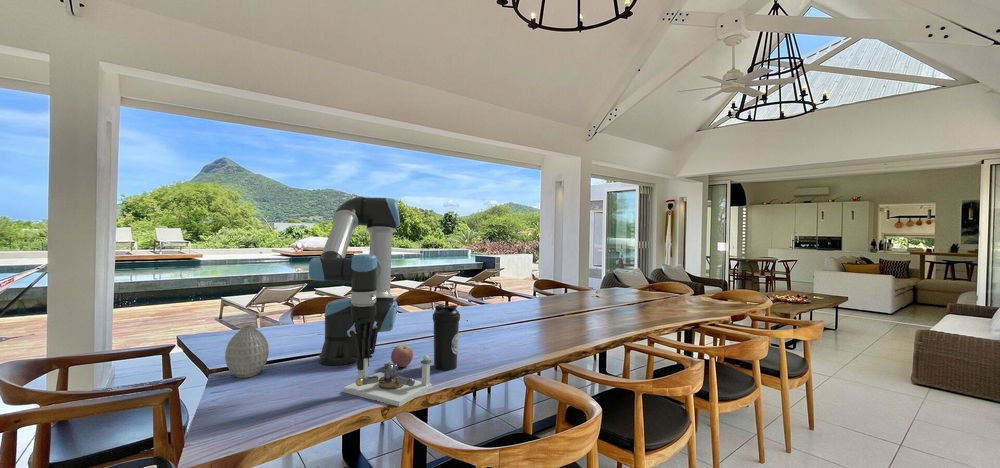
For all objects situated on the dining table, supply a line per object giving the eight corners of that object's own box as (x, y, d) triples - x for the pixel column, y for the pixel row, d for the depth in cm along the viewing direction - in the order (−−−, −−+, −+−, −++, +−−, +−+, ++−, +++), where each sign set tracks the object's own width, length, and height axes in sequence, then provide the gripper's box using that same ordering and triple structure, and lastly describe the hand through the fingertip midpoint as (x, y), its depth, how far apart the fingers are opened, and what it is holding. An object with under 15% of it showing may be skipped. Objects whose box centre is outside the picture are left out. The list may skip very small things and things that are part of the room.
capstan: (363, 401, 120) (363, 379, 120) (348, 381, 135) (348, 361, 135) (415, 391, 129) (416, 370, 129) (396, 373, 144) (396, 354, 144)
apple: (393, 371, 151) (394, 349, 151) (388, 365, 158) (389, 343, 158) (415, 368, 155) (415, 346, 154) (409, 362, 161) (410, 341, 161)
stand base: (343, 392, 131) (344, 357, 131) (379, 376, 145) (379, 345, 145) (399, 406, 121) (399, 369, 121) (431, 388, 136) (432, 354, 135)
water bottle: (454, 372, 151) (455, 308, 151) (427, 369, 153) (428, 307, 153) (462, 363, 161) (463, 304, 161) (437, 361, 163) (438, 302, 163)
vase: (276, 371, 148) (277, 324, 148) (244, 383, 136) (244, 332, 136) (249, 366, 152) (250, 321, 152) (215, 378, 140) (216, 328, 140)
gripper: (357, 309, 123) (356, 388, 124) (387, 301, 135) (386, 374, 135) (338, 306, 126) (338, 383, 127) (369, 299, 138) (368, 370, 139)
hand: (363, 378), depth 131 cm, fingers closed
